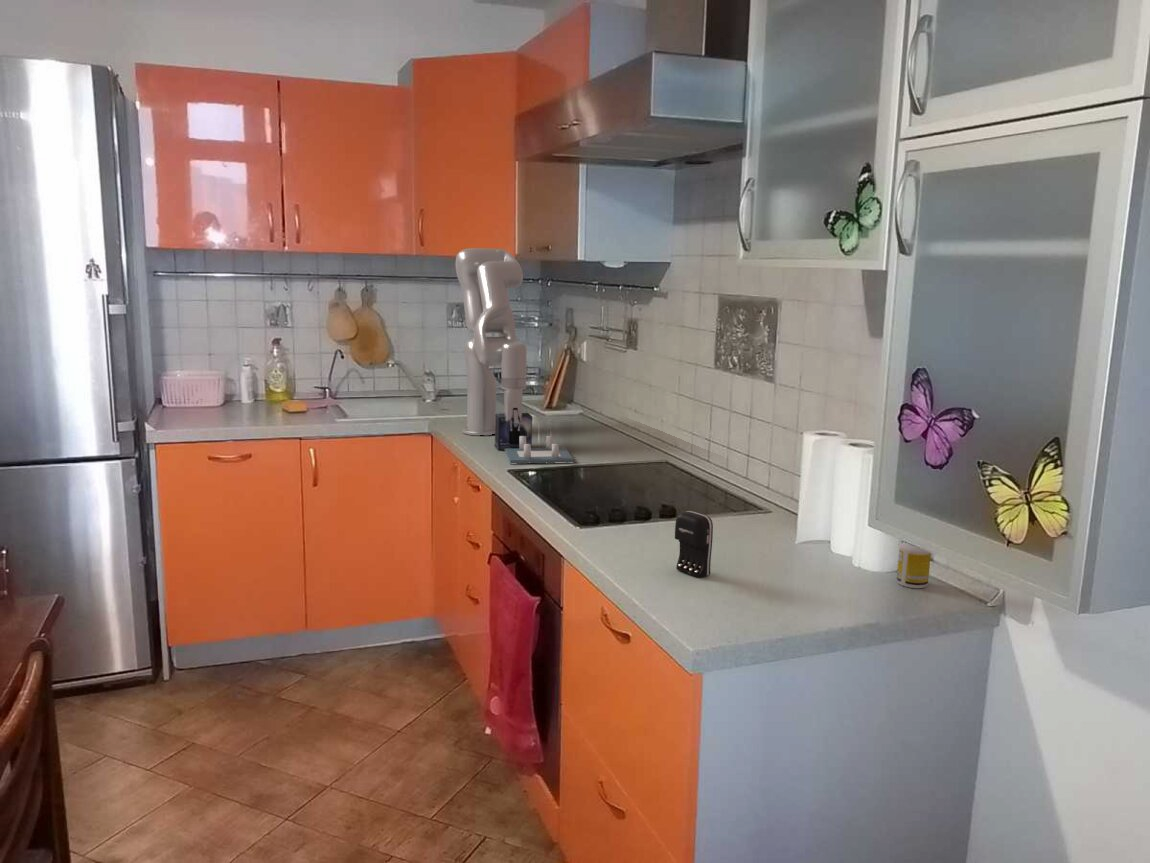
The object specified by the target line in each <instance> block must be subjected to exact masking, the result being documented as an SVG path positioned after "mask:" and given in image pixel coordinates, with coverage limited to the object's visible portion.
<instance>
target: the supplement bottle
mask: <svg viewBox="0 0 1150 863" xmlns="http://www.w3.org/2000/svg"><path fill="white" fill-rule="evenodd" d="M898 551H899V552H898V560H897V561H898V562H897V572H896V573H897V574H896V582H897V584H899V585H901V586H902V587H905V588H909V589H915V590H916V589H918V590H919V589H924V588H926V587H927V586H928V585H929V577H930V567H931V557H932V556H931V555H932V552H931V553H929V552H927V551H925V550H922V549H919V548H917V547H915V546H912V545H910V544H908V543H905V541H902V543H900V545H899V550H898Z"/></svg>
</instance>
